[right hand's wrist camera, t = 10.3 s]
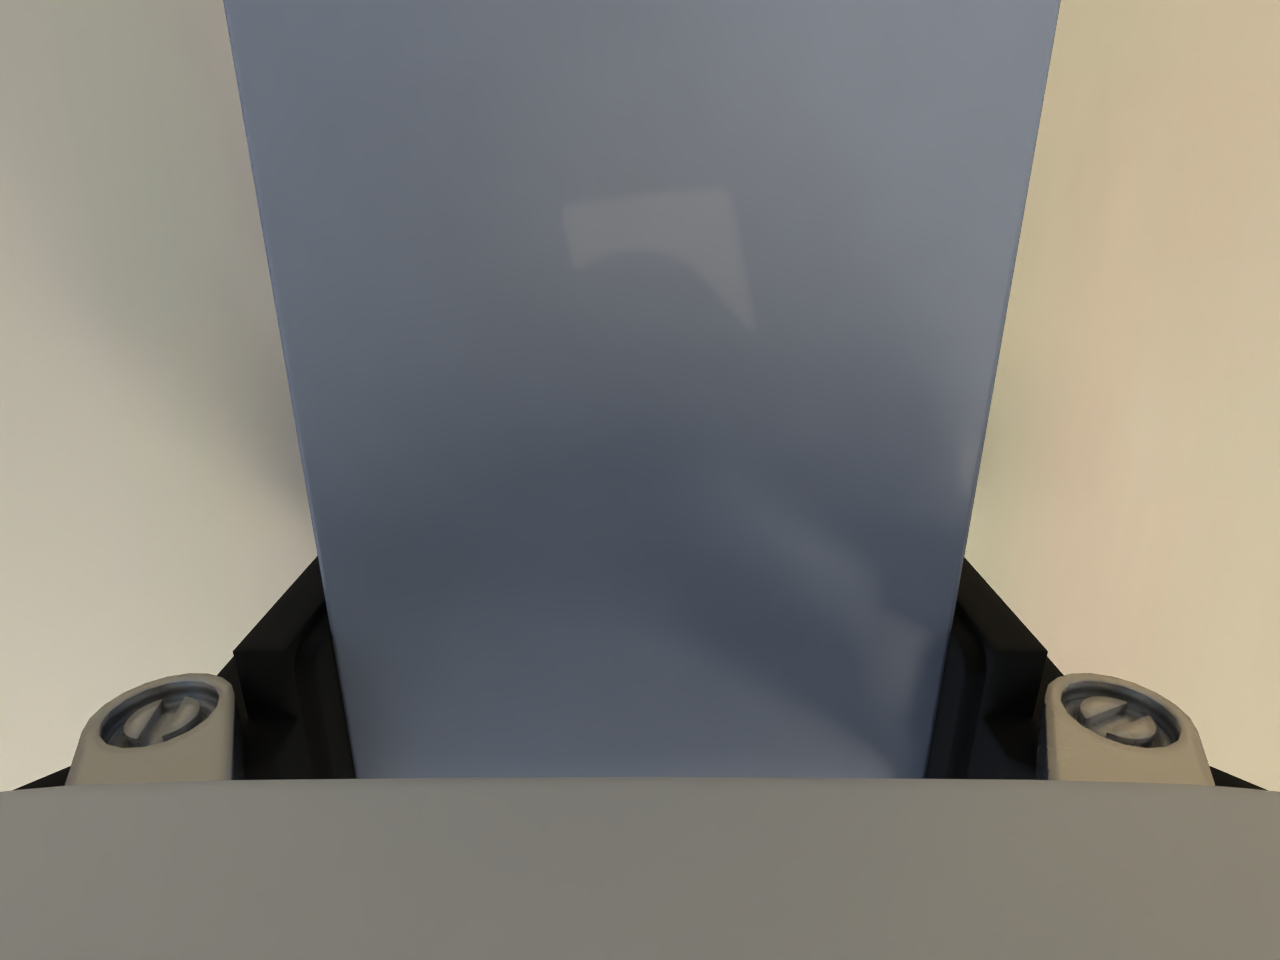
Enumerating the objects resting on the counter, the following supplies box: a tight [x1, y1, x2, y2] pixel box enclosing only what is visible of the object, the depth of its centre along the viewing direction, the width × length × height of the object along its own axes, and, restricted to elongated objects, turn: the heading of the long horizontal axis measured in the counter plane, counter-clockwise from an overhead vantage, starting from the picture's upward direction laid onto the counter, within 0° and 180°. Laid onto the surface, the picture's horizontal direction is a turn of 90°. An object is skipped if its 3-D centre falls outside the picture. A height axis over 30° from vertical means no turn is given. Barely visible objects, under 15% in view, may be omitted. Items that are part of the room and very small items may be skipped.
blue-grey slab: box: [223, 0, 1061, 779], centre depth 11 cm, size 16×7×8 cm, turn 0°
